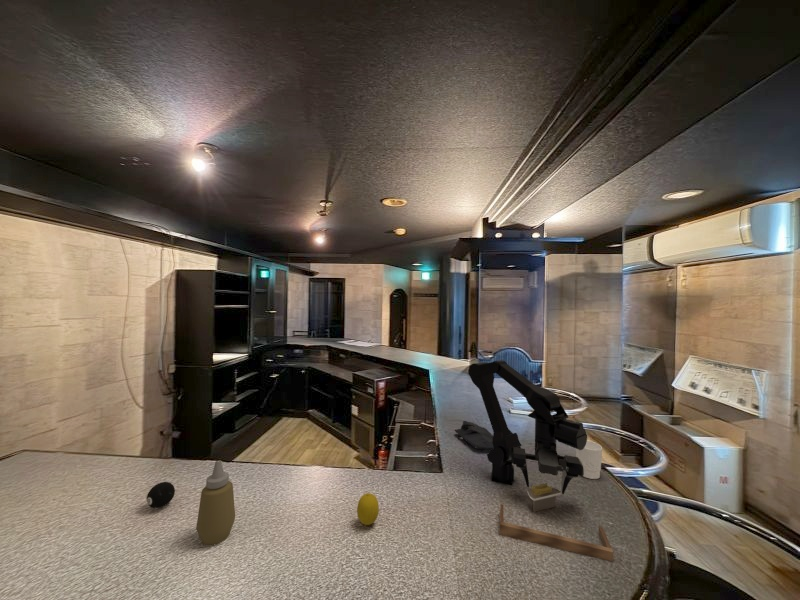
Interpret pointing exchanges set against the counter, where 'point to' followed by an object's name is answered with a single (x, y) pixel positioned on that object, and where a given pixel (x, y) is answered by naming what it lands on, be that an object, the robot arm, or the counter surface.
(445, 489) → the counter surface
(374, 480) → the counter surface
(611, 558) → the frame
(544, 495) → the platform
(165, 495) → the black ovoid
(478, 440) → the dark slate chunk
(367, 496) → the lemon
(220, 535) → the squeeze bottle
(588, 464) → the white cup
